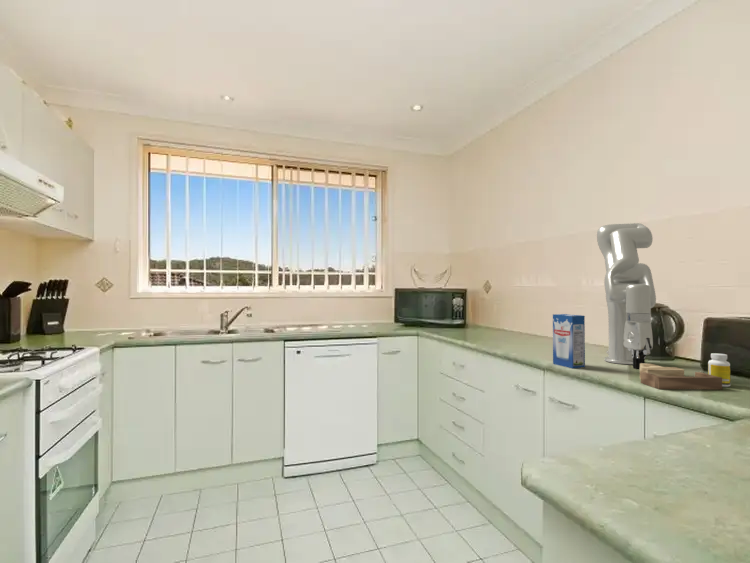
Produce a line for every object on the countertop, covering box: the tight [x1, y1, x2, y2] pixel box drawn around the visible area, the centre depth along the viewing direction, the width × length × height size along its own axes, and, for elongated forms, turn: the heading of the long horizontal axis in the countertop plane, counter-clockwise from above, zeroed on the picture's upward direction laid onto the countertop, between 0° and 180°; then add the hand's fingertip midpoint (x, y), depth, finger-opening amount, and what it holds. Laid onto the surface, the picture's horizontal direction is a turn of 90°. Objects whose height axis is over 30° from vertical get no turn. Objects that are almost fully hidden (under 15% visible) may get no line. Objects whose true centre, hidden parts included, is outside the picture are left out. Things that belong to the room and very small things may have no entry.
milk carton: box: [552, 313, 586, 369], centre depth 159 cm, size 10×6×20 cm, turn 20°
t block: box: [639, 362, 685, 380], centre depth 137 cm, size 10×12×4 cm
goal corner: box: [640, 371, 723, 390], centre depth 126 cm, size 8×19×4 cm, turn 90°
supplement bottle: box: [707, 352, 731, 388], centre depth 127 cm, size 5×5×10 cm
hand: (638, 368), depth 146 cm, fingers closed
